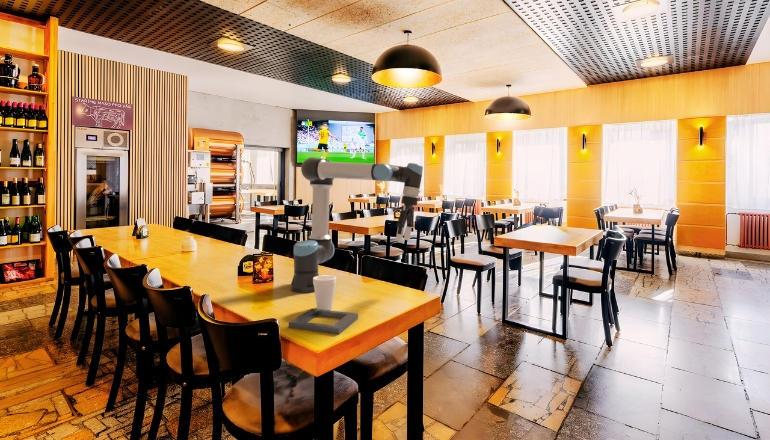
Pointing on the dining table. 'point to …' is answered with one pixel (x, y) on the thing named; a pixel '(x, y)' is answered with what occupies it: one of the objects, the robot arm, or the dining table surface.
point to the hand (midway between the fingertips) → (402, 240)
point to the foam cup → (324, 291)
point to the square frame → (337, 328)
